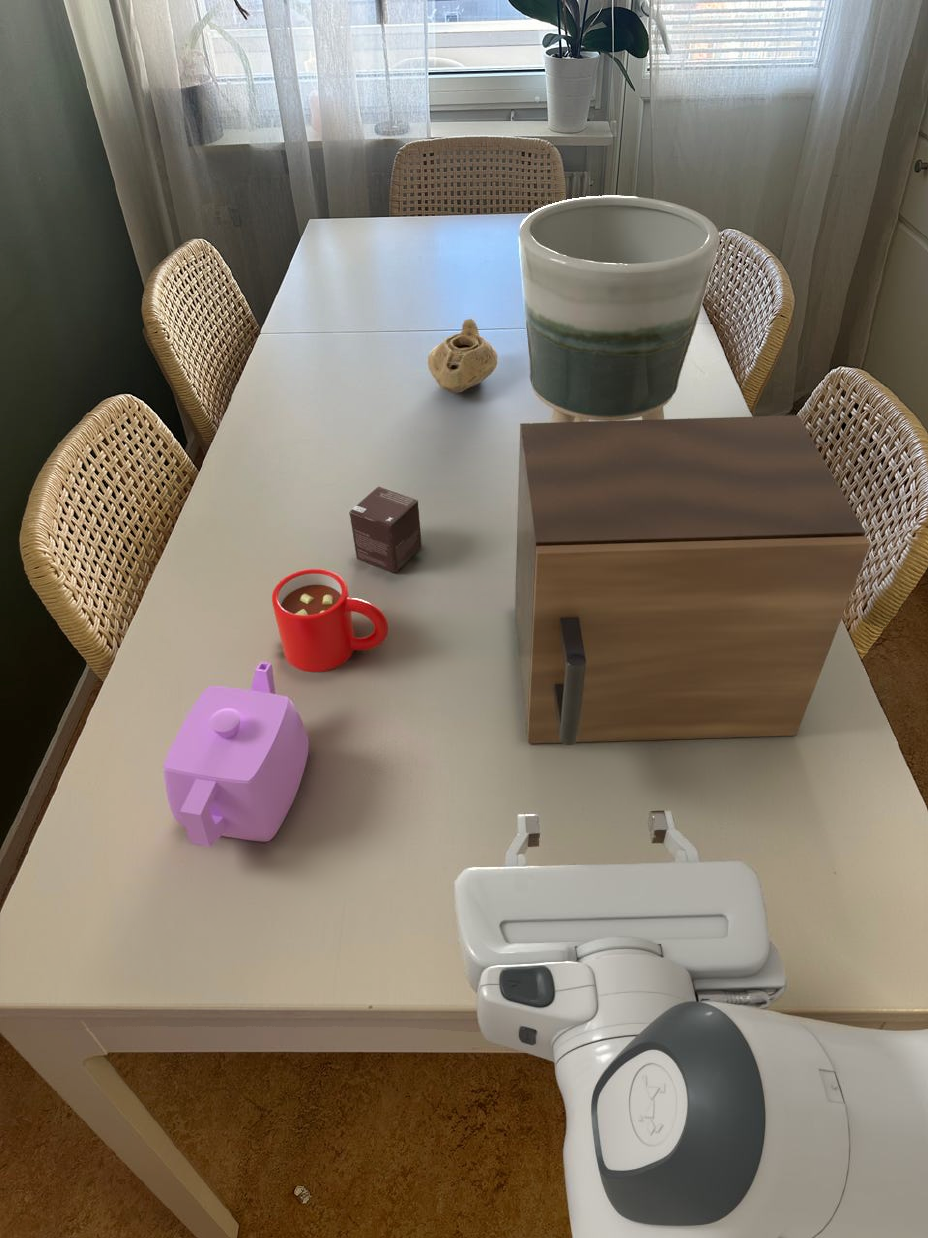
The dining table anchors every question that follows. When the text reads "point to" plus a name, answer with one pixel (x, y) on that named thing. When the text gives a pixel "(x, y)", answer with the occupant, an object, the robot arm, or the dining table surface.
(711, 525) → the cupboard
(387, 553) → the box
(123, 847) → the dining table surface
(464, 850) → the dining table surface
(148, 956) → the dining table surface
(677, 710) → the cupboard door
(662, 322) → the planter
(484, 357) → the oil lamp
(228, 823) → the teapot
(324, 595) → the mug
